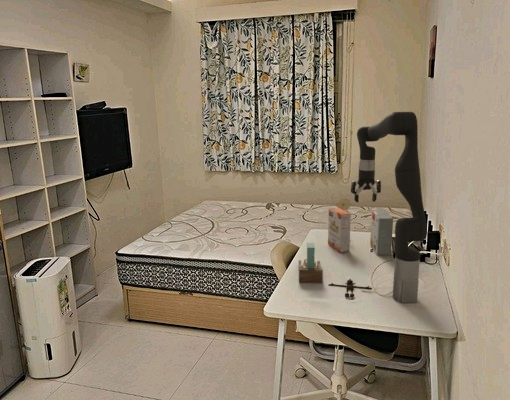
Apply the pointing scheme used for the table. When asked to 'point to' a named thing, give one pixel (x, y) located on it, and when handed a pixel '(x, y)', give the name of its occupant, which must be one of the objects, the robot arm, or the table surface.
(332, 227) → the cracker box
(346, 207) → the flower in vase
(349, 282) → the long-limbed plush toy
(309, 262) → the teal board
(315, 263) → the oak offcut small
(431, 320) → the table surface
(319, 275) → the walnut rack
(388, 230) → the hard drive box
